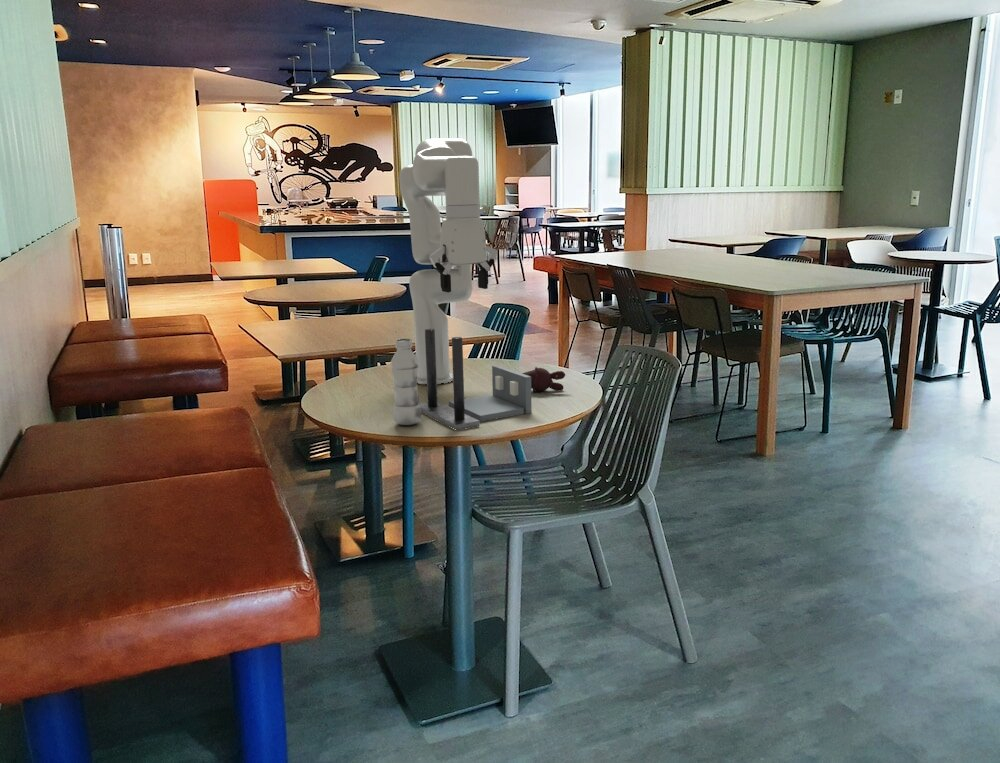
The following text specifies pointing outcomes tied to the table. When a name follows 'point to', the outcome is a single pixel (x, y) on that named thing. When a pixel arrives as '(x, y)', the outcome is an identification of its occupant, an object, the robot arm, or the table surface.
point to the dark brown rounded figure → (545, 379)
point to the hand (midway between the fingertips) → (464, 290)
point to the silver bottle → (405, 384)
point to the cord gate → (441, 411)
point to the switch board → (501, 396)
